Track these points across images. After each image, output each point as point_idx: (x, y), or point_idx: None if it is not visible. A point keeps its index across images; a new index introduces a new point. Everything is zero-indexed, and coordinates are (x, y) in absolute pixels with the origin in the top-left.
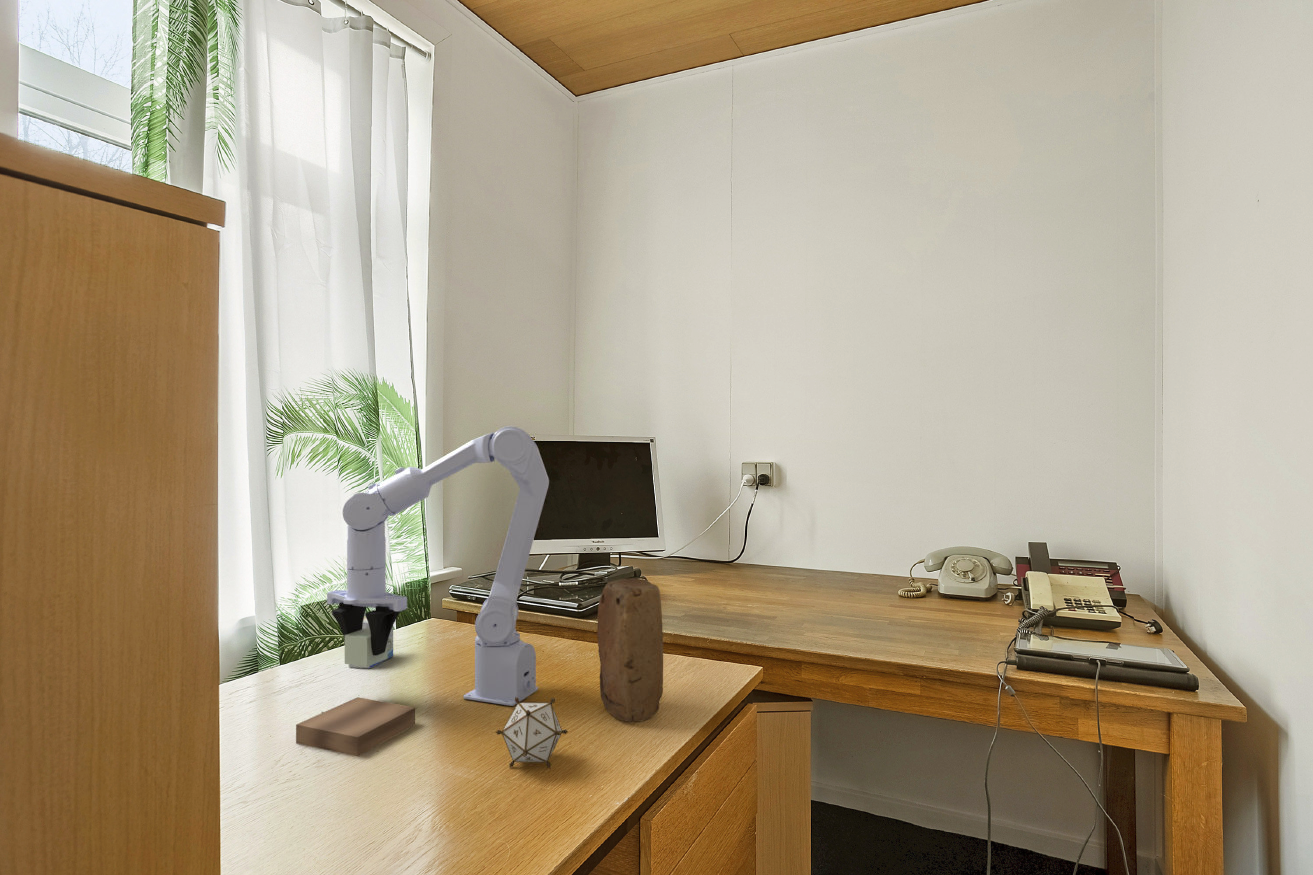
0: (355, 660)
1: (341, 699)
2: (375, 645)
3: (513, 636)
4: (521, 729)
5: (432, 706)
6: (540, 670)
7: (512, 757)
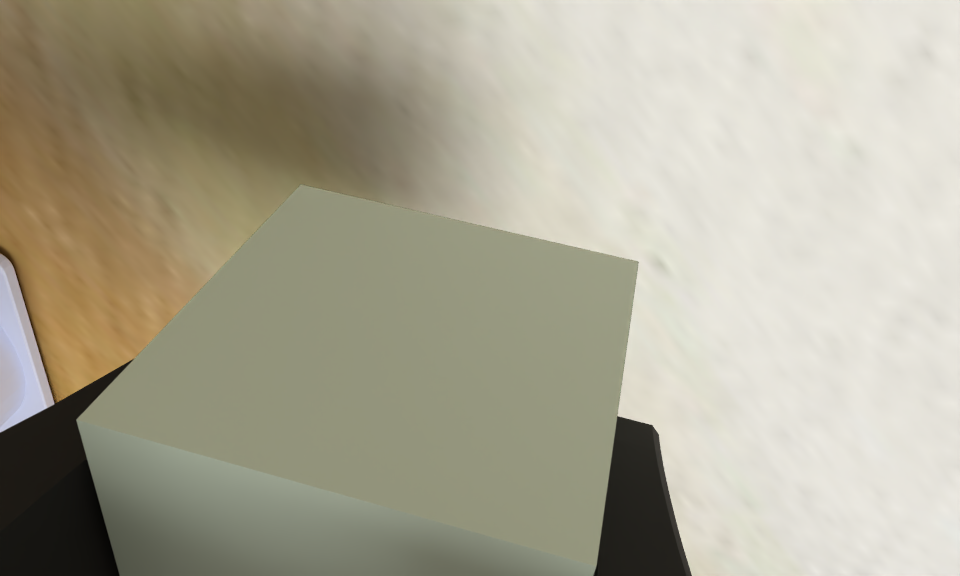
0: (453, 253)
1: (750, 176)
2: (109, 375)
3: None
4: None
5: (72, 139)
6: None
7: None
